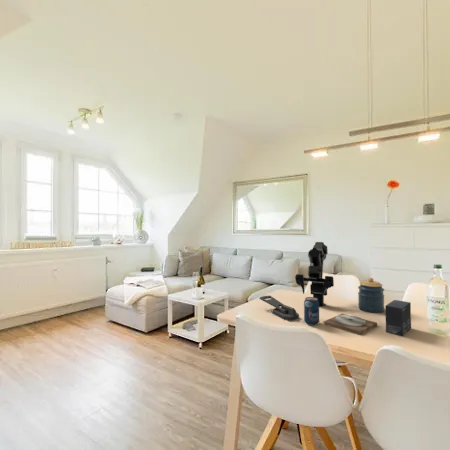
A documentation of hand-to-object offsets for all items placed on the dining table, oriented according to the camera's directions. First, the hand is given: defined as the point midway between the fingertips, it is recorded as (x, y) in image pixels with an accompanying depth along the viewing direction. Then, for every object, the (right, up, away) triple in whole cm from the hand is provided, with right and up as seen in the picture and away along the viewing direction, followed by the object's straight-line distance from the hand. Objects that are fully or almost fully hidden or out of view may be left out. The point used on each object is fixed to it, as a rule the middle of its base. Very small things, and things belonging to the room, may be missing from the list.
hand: (313, 294), depth 139 cm
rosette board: (+15, -12, -8) cm, 21 cm away
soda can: (-2, -13, -6) cm, 14 cm away
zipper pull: (-15, -13, +10) cm, 23 cm away
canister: (+37, -12, +15) cm, 42 cm away
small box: (+34, -13, -15) cm, 39 cm away
